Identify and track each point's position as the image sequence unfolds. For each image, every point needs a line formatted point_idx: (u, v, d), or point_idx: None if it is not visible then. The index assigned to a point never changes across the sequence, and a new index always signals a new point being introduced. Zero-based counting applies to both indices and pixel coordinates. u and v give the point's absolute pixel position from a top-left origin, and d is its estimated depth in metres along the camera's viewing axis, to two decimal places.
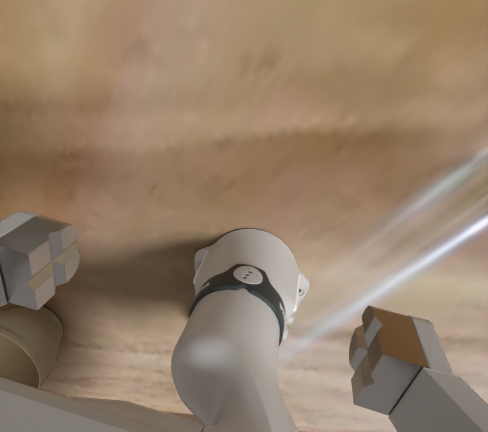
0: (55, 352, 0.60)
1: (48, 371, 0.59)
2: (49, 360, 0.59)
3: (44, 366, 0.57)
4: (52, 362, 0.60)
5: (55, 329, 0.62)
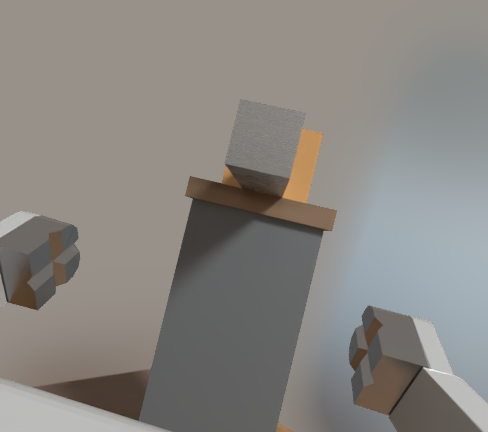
0: None
1: None
2: None
3: None
4: None
5: None
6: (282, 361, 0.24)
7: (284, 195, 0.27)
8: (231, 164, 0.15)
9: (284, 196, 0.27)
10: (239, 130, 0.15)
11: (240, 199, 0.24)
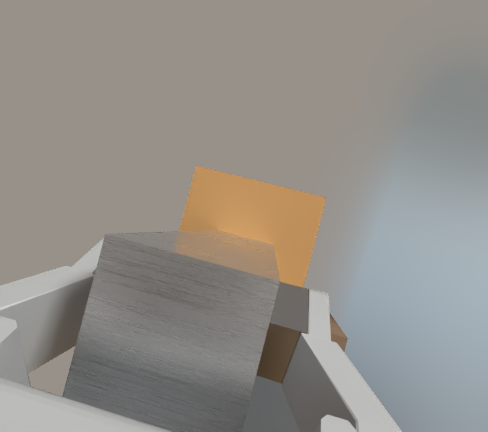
0: None
1: None
2: None
3: None
4: None
5: None
6: None
7: None
8: None
9: None
10: (100, 320, 0.06)
11: None
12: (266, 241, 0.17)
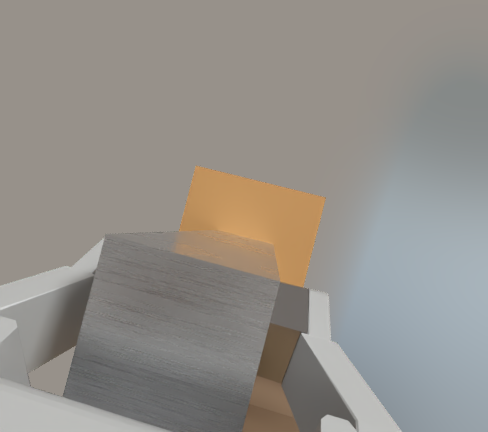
0: None
1: None
2: None
3: None
4: None
5: None
6: None
7: None
8: None
9: None
10: (100, 320, 0.06)
11: None
12: (266, 241, 0.17)
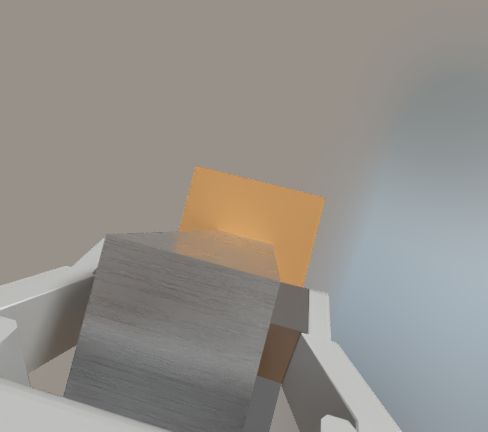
0: None
1: None
2: None
3: None
4: None
5: None
6: None
7: None
8: None
9: None
10: (100, 320, 0.06)
11: None
12: (265, 241, 0.17)
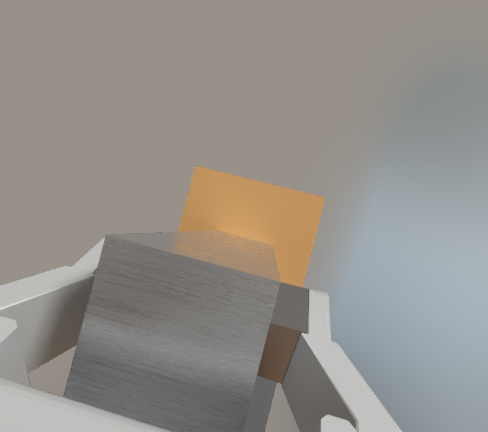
0: None
1: None
2: None
3: None
4: None
5: None
6: None
7: None
8: None
9: None
10: (100, 321, 0.06)
11: None
12: (265, 241, 0.17)
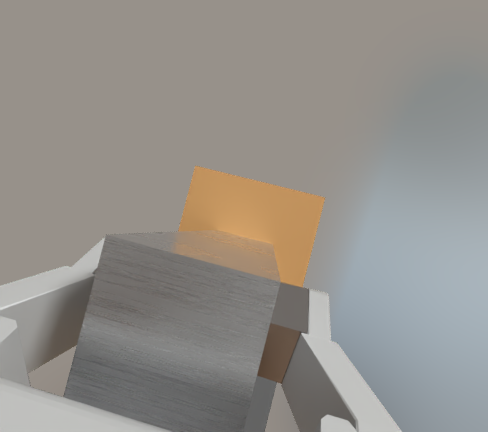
0: None
1: None
2: None
3: None
4: None
5: None
6: None
7: None
8: None
9: None
10: (100, 321, 0.06)
11: None
12: (265, 241, 0.17)
